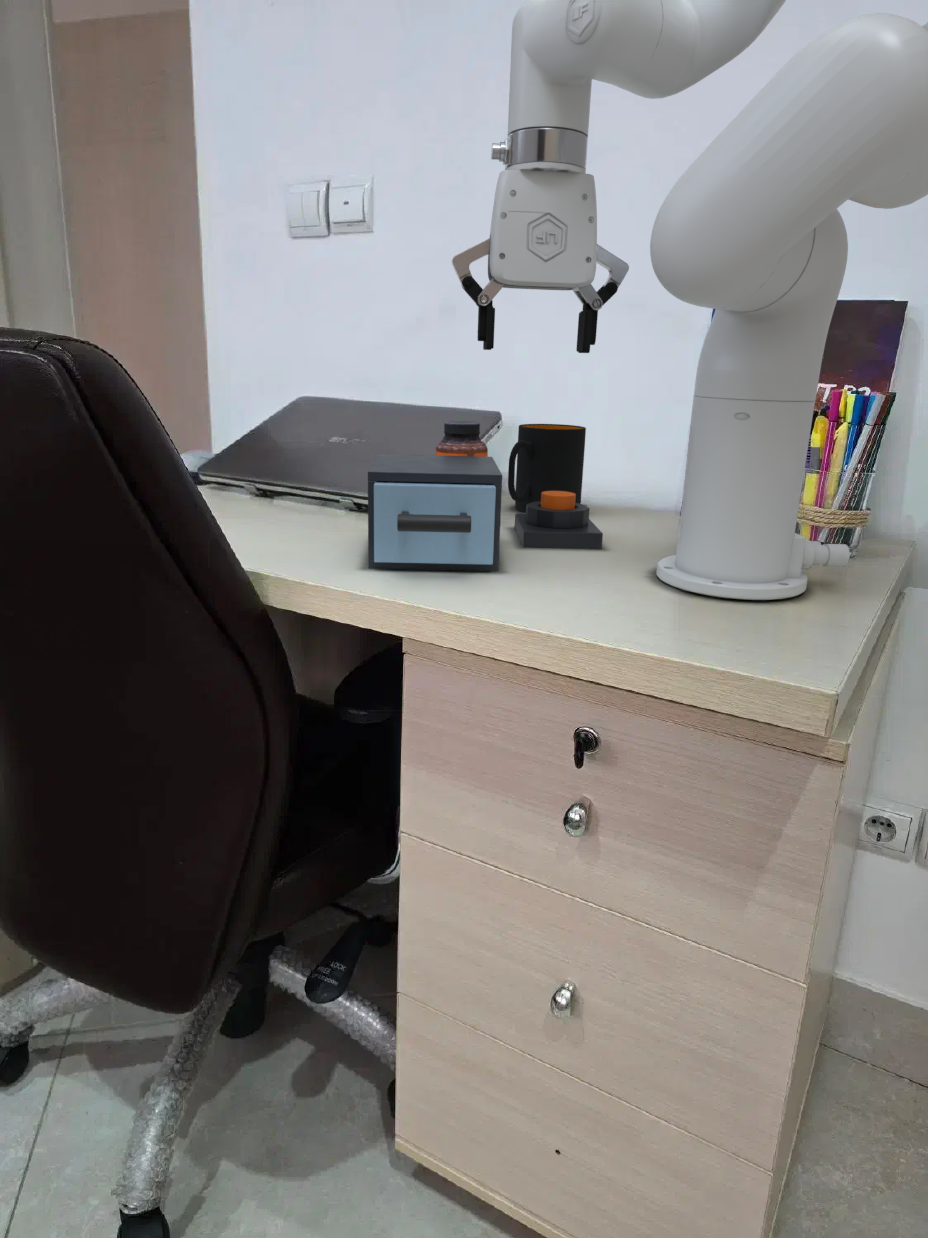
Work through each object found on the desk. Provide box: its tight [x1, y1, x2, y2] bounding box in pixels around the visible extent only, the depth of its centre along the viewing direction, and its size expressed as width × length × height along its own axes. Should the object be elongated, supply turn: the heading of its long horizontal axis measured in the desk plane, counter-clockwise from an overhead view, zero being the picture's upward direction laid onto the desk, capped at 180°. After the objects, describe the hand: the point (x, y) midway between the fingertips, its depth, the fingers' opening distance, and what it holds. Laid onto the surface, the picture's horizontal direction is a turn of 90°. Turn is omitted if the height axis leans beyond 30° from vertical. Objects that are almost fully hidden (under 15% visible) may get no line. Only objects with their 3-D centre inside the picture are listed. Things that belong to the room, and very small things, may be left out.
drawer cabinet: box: [367, 453, 503, 572], centre depth 79 cm, size 14×12×9 cm
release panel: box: [514, 501, 604, 550], centre depth 88 cm, size 8×10×4 cm
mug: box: [507, 423, 587, 514], centre depth 102 cm, size 8×12×10 cm
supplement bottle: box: [435, 420, 489, 457], centre depth 94 cm, size 6×6×11 cm
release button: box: [541, 491, 576, 510], centre depth 87 cm, size 4×4×2 cm
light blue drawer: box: [374, 481, 496, 565], centre depth 75 cm, size 17×10×7 cm, turn 2°
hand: (535, 351), depth 83 cm, fingers open, 9 cm apart
